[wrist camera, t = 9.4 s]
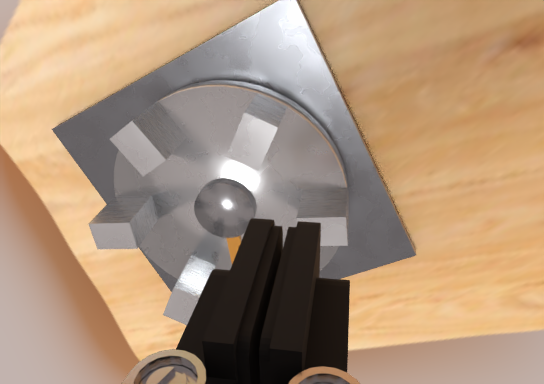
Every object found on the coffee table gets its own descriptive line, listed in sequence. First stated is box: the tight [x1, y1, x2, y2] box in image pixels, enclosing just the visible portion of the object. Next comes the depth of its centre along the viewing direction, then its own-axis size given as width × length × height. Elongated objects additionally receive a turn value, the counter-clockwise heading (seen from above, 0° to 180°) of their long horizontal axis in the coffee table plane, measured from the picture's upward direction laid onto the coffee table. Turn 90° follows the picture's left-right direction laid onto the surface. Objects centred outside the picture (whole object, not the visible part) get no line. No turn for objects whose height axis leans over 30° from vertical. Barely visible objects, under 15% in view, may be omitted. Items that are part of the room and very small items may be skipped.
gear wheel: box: [89, 80, 349, 325], centre depth 38 cm, size 20×20×6 cm
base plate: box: [52, 0, 416, 292], centre depth 41 cm, size 24×24×1 cm
